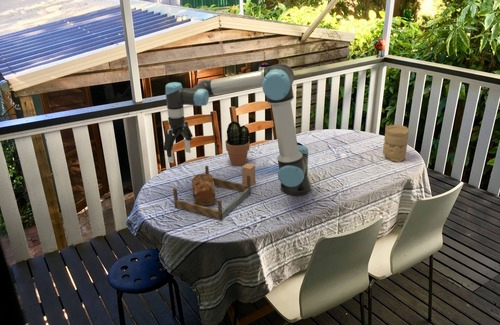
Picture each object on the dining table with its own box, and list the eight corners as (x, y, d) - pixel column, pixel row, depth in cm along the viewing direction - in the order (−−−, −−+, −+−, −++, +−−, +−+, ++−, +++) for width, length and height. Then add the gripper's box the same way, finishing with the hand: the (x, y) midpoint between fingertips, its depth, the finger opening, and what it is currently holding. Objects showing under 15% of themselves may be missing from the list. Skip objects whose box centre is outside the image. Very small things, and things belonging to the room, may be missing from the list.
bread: (216, 205, 215) (215, 187, 211) (194, 207, 214) (192, 189, 209) (213, 187, 232) (212, 170, 228) (192, 189, 230) (191, 171, 226)
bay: (250, 193, 225) (250, 175, 221) (221, 220, 203) (219, 200, 198) (207, 182, 236) (206, 165, 232) (175, 207, 214) (173, 188, 210)
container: (407, 156, 261) (411, 127, 253) (401, 164, 251) (405, 134, 244) (386, 152, 267) (389, 123, 259) (379, 159, 257) (382, 130, 250)
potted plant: (241, 169, 250) (240, 127, 239) (221, 164, 257) (219, 123, 246) (254, 160, 260) (253, 119, 250) (235, 155, 267) (233, 115, 256)
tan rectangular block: (255, 182, 236) (255, 165, 231) (250, 186, 232) (250, 168, 227) (247, 180, 238) (246, 163, 234) (242, 184, 234) (241, 167, 230)
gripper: (185, 107, 222) (188, 146, 231) (152, 122, 203) (157, 165, 212) (197, 109, 219) (200, 149, 228) (165, 125, 199) (170, 168, 208)
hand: (179, 157), depth 220 cm, fingers open, 13 cm apart
